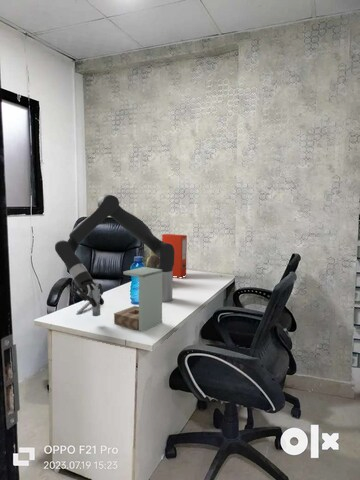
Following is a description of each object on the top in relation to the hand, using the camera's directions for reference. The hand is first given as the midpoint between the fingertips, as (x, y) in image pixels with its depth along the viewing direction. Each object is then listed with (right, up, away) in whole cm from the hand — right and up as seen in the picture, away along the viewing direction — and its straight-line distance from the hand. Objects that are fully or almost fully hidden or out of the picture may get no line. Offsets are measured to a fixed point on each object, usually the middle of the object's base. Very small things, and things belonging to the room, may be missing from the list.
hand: (99, 305), depth 154 cm
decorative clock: (+18, -1, +82) cm, 84 cm away
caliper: (-12, -7, +25) cm, 28 cm away
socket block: (+16, -9, +4) cm, 19 cm away
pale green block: (+20, -9, +2) cm, 22 cm away
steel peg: (-2, -5, +2) cm, 5 cm away
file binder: (+32, +2, +106) cm, 111 cm away
